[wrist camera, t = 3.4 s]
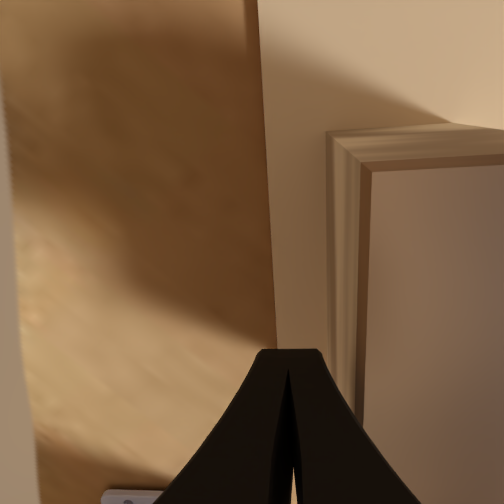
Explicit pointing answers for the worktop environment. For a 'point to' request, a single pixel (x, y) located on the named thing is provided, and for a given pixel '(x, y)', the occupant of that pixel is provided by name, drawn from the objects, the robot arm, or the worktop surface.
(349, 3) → the beige square board
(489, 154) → the maple block
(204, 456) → the robot arm
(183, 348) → the worktop surface
